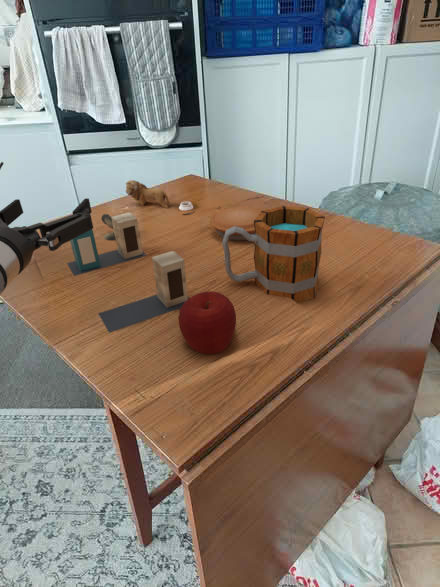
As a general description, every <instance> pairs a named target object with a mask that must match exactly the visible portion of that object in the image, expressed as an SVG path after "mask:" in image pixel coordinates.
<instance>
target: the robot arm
mask: <svg viewBox="0 0 440 587" xmlns="http://www.w3.org/2000/svg"><path fill="white" fill-rule="evenodd" d="M3 165H4V162H3V161H1V162H0V170H1V169H2V168H3ZM23 214H24V210H23V206H22V203H21V200H20V199H19V198H18V199H14V200H13V201H12V202H10V203H9V204H7V205H6V206H5V207H3V208H2V209H1V210H0V295H1V294H2V293H3V292H4V291H5V290H6V288H7V287H8V286H9V285H10V284H11V283H12V282H13V281H14V280H15V279H16V278H17V276H18V275H20V274H21V273H22V272H23V271H24V270H25V269H26V268H27V266H28V265H29V264H30V262H31V261H32V258H33V254H34V252H35V251H37V250H39V249H41V247H48V250H49V251H50V252H55V251H57V250H58V249H60V248H61V246H62V245H64V244H67V243H68V242H70V240H72V239H74V238H76V237H78V236H80V235H82V234H84V233H85V232H87V231H89V230H91V229H94V223H93V220H92V215H91V214H92V207H91V202H90V198H89V197H88V198H87V197H86V198H84V199H83V200H82V201H81V202H80V203H79V204H78V205H77V206H76V207H75V209H73V210H72V213H71V214H70V215H67V216H63V217H61V218H58V219H55V220H52V221H50V222H46V223H43V222H37V223H34V224H32V225H28V226H26V225H23V226H13V227H10V225H12V223H14V221H16V220H17V219H18V218H20V216H22V215H23ZM37 230H39V232H40V234H39V232H38V231H37Z"/></svg>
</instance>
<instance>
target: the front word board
mask: <svg viewBox="0 0 440 587" xmlns="http://www.w3.org/2000/svg"><path fill="white" fill-rule="evenodd" d="M189 298H190V297H189V296H188V299H189ZM185 302H186V301H185ZM185 302H182V303H179V304H176V305H174V306H171V307H168V308H167V307H166V306H165V305H164V304H163V302H162V301H161V300H160V299H159V298H158V296H157V294H154V295H151V296H148V297H145V298H142V299H139V300H135V301H133V302H129V303H125V304H123V305H120V306H116V307H113V308H111V309H108V310H104V311H102V312H98V313H97V314H98V316H99V318H100V319H101V321H102V324H103V325H104V327H105V328H106V331H107V332H108V333H109V334H110V333H112V332H113V333H114V332H116V331H119V330H121V329H125V328H127V327H130V326H134V325H136V324H139V323H141V322H144V321H147V320H150V319H153V318H156V317H159V316H162V315H165V314H168V313H171V312H174V311H177V310H180V309H181V307H182V305H183V304H184V303H185Z"/></svg>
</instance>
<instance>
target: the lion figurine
mask: <svg viewBox="0 0 440 587" xmlns="http://www.w3.org/2000/svg"><path fill="white" fill-rule="evenodd" d="M125 193H126V194H127V196H128V197H131V198H133V199H134V201H138V202H139V204H140V207H145V204H147V202H155V201H157V202H158V204H159V205H161V206H162V207H163V208H164V209H169V207H170V208H172V207H173V205H172V204H171V203H170V199H169V197H168V195H167V193H166V192H165V190H164V189H162V188H149V187H147V186H146V185H145V184H144V183H142V182H140V181H137V180H133V179H130V180H128V181H126V182H125ZM166 201H167V203H166Z"/></svg>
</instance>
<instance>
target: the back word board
mask: <svg viewBox="0 0 440 587" xmlns="http://www.w3.org/2000/svg"><path fill="white" fill-rule="evenodd" d="M142 253H143V254H141V255H138V256H134V257H131V258H127V259H124V258H123V257H122V256H121V255H120V254H119V252H118V249H114V250H110V251H107V252H103V253H100V254H99V253H98V257H99V261H100V266H98V267H94V268H91V269H87V270H83V271H80V269H79V267H78V266H77V264H76V262H75V260H73V261H69V262H67V263H66V264H67V266H68V267H69V269H70V271H71V274H72V275H73V276H75V277H76V276H79V275H83V274H86V273H89V272H93V271H97V270H100V269H105V268H108V267H111V266H114V265H120V264H122V263H125V262H130V261H133V260H136V259H140V258H143V257H146V256H147V254H146V253H145V252H144V251H143V250H142Z"/></svg>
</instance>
